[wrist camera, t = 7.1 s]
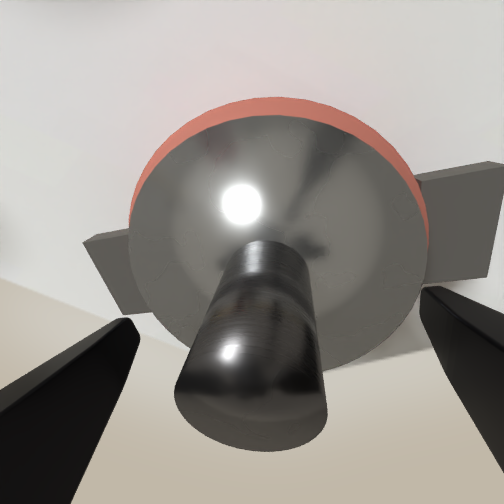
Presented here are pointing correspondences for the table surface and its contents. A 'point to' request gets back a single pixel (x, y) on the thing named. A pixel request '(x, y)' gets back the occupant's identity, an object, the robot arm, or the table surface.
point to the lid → (273, 269)
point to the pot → (421, 185)
